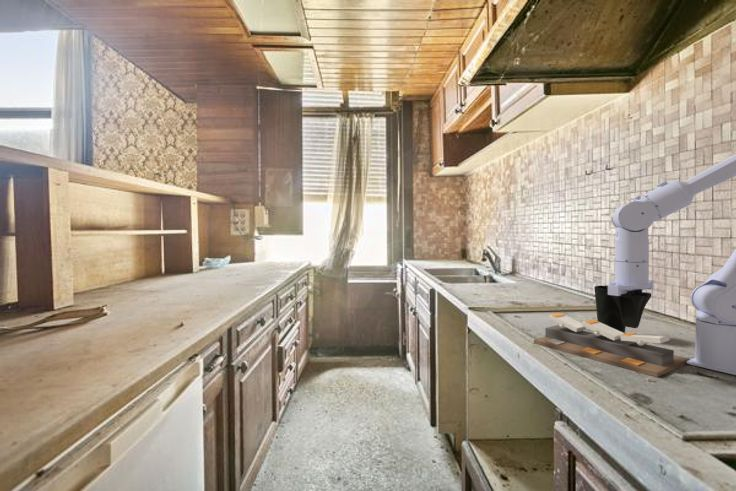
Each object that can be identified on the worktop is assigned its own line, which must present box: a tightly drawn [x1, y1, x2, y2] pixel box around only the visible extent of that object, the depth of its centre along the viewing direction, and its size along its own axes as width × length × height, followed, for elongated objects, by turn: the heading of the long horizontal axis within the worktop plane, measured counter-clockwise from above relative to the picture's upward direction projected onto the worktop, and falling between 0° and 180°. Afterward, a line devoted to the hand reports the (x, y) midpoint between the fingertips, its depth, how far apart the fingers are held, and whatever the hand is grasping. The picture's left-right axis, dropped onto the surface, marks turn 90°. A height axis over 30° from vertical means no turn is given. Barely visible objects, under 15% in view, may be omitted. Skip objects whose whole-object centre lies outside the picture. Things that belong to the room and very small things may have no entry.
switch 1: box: [548, 312, 587, 332], centre depth 90 cm, size 7×4×2 cm, turn 31°
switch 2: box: [581, 318, 626, 340], centre depth 83 cm, size 7×4×2 cm, turn 31°
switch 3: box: [620, 331, 671, 346], centre depth 76 cm, size 7×4×2 cm, turn 31°
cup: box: [593, 285, 627, 334], centre depth 96 cm, size 8×8×12 cm
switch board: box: [533, 324, 690, 378], centre depth 82 cm, size 25×14×3 cm, turn 31°
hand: (631, 326), depth 78 cm, fingers closed
